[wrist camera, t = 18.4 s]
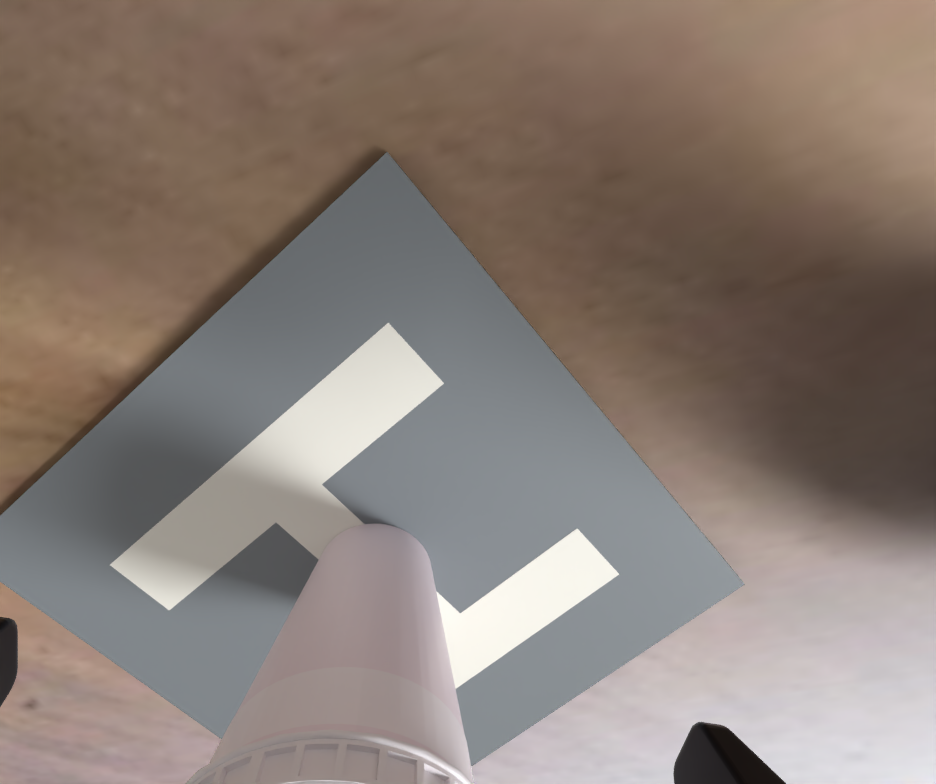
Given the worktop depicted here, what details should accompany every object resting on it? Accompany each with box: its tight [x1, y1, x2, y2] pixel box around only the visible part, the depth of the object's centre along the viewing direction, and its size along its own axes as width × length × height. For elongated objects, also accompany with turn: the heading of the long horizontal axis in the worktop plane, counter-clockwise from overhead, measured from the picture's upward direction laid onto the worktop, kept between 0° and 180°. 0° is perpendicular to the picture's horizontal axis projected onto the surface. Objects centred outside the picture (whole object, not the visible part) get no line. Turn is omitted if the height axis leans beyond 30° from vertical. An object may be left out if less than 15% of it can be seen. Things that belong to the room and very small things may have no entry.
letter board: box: [0, 152, 745, 766], centre depth 19 cm, size 18×18×1 cm
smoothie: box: [186, 524, 474, 784], centre depth 13 cm, size 6×6×14 cm
